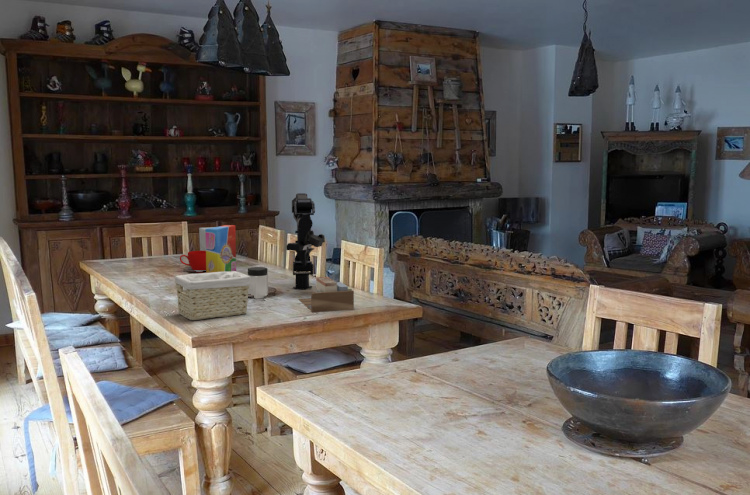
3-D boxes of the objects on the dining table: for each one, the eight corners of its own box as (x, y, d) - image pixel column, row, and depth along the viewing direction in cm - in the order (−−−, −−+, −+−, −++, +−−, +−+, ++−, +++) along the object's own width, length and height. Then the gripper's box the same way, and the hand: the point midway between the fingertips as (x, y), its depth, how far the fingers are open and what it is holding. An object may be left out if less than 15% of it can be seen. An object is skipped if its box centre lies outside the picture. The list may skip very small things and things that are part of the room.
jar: (243, 297, 277) (242, 268, 275) (255, 294, 284) (255, 266, 282) (260, 299, 272) (259, 270, 271) (272, 296, 280) (272, 268, 278)
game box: (217, 291, 290) (216, 229, 286) (206, 290, 291) (204, 228, 287) (236, 282, 310) (235, 224, 306) (225, 282, 311) (224, 224, 308)
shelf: (298, 301, 269) (297, 282, 268) (336, 299, 274) (336, 280, 273) (312, 314, 246) (312, 293, 245) (353, 311, 251) (353, 291, 250)
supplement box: (228, 258, 389) (227, 228, 387) (205, 259, 383) (205, 229, 380) (221, 255, 401) (220, 226, 398) (199, 257, 394) (198, 227, 392)
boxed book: (316, 302, 263) (316, 277, 262) (327, 301, 265) (327, 276, 263) (325, 309, 250) (325, 283, 249) (336, 308, 252) (336, 282, 250)
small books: (333, 303, 260) (333, 282, 259) (344, 303, 262) (344, 281, 261) (340, 309, 251) (340, 286, 250) (351, 308, 252) (351, 286, 251)
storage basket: (235, 306, 259) (234, 269, 257) (252, 314, 246) (251, 275, 244) (174, 314, 246) (173, 275, 244) (189, 323, 232) (188, 281, 231)
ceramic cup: (179, 270, 345) (179, 251, 343) (213, 269, 350) (212, 250, 348) (180, 274, 332) (179, 254, 331) (215, 272, 337) (214, 253, 336)
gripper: (308, 231, 266) (308, 269, 267) (332, 227, 282) (332, 263, 284) (285, 229, 270) (285, 267, 272) (309, 226, 287) (309, 261, 289)
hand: (304, 265), depth 279 cm, fingers closed
